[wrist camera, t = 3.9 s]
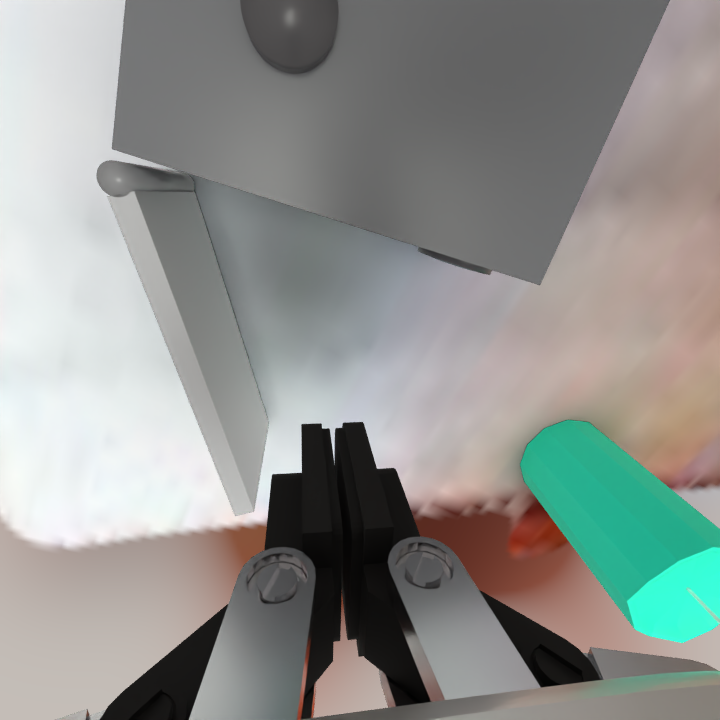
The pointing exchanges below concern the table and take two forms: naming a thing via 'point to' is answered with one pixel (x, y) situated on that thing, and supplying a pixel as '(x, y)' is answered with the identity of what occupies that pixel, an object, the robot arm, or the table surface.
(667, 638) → the candle
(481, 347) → the table surface
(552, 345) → the table surface
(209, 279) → the side door
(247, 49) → the camera body
